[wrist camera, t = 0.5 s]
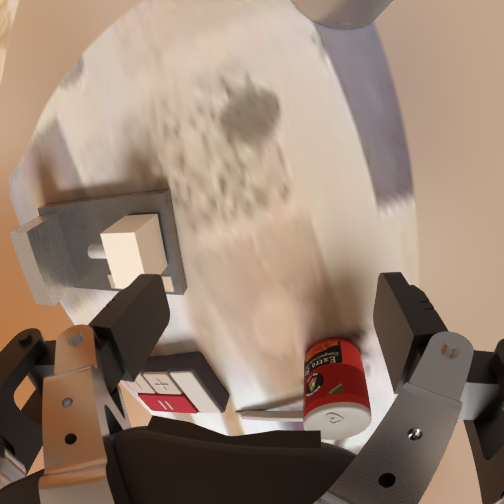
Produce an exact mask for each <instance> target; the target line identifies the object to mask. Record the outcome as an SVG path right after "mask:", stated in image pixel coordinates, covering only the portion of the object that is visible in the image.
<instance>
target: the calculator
mask: <svg viewBox="0 0 504 504" xmlns="http://www.w3.org/2000/svg"><path fill="white" fill-rule="evenodd" d="M126 382H127V383H128V384H129V386H130V387H131V388H132V389H133V390H134V391H135V392H137V393H138V396H139V397H140V398H141V399H142V400H143V402H144V403H145V404H146V405H147V406H148V407H149V408H150V409H151V410H153V411H164V412H178V413H197V412H202V413H222V412H225V409H226V405H227V402H228V399H229V394H228V393H227V391H226V390H225V388H224V387H223V386H222V384H221V383H220V381H219V380H218V378H217V377H216V375H215V374H214V372H213V370H212V369H211V367H210V366H209V364H208V363H207V361H206V360H205V358H204V357H203V355H202V354H201V353H200V352H190V353H182V354H175V355H173V356H157V357H148V359H147V360H146V362H145V364H144V366H143V367H142V369H141V371H140V372H139V374H138V376H137V378H136V379H135V381H134V382H129V381H126Z"/></svg>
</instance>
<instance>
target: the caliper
mask: <svg viewBox="0 0 504 504" xmlns="http://www.w3.org/2000/svg"><path fill="white" fill-rule="evenodd" d="M235 413H236V414H237V415H238V416H240V417H242V418H243V419H249V420H265V421H303V411H258V410H248V411H242V412H235Z"/></svg>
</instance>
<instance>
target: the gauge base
mask: <svg viewBox="0 0 504 504" xmlns="http://www.w3.org/2000/svg"><path fill="white" fill-rule="evenodd" d="M38 211H39V215H40V216H38V217H36V218H35V219H33V220H31V221H29V222H28V223H26V224H24V225H23V226H21V227H19V228H18V229H16V230H14V231H13V232H11V233H10V236H11V239H12V242H13V245H14V248H15V251H16V254H17V257H18V260H19V263H20V266H21V268H22V271H23V274H24V276H25V279H26V281H27V284H28V286H29V288H30V291H31V293H32V296H33V298H34V300H35V302H36V303H38V304H44V305H50V306H54V305H55V304H56V303H57V302H58V301H59V300H60V299H61V298H62V297H63V296H64V295H65V294H66V293H67V292H69V291H70V290H71V289H72V288H73V287H75V288H86V289H98V290H111V291H121V290H123V289H119V288H116V287H115V284H114V281H113V277H112V274H111V271H110V267H109V264H108V261H107V259H100V258H90V257H89V255H88V247H89V245H90V244H103V243H102V239H101V235H100V234H101V233H102V232H103V231H105V230H106V229H107V228H109V227H110V226H112V225H113V224H114V223H116V222H117V221H119V220H120V219H121V218H123V217H124V216H128V215H143V214H158V220H159V225H160V231H161V236H162V241H163V246H164V251H165V256H166V260H167V265H168V266H167V267H166V268H165V270H164V271H163V272H162V274H161V275H160V276H161V277H162V280H163V284H164V288H165V292H166V294H175V295H184V293H185V291H186V289H187V284H186V279H185V274H184V269H183V264H182V259H181V254H180V248H179V243H178V237H177V231H176V225H175V219H174V213H173V207H172V200H171V194H170V190H158V191H148V192H138V193H128V194H119V195H111V196H103V197H95V198H87V199H80V200H73V201H66V202H60V203H54V204H47V205H44V206H42V207H40V208H38Z"/></svg>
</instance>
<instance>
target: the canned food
mask: <svg viewBox="0 0 504 504" xmlns="http://www.w3.org/2000/svg"><path fill="white" fill-rule="evenodd" d="M303 423H304V429H305V431H312V430H321V439H326V440H338V439H344V438H349V437H352V436H355V435H357V434H359V433H361V432H362V431H364V430H365V429H366V428H367V427H368V426H369V425H370V423H371V409H370V402H369V396H368V390H367V385H366V379H365V374H364V369H363V363H362V358H361V354H360V352H359V350H358V349H357V347H356V346H355V345H354V344H353V343H351V342H350V341H348V340H345V339H341V338H330V339H325V340H322V341H320V342H318V343H316V344H314V345H313V346H312V347H311V348H310V349H309V351H308V353H307V355H306V357H305V362H304V407H303Z"/></svg>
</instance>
